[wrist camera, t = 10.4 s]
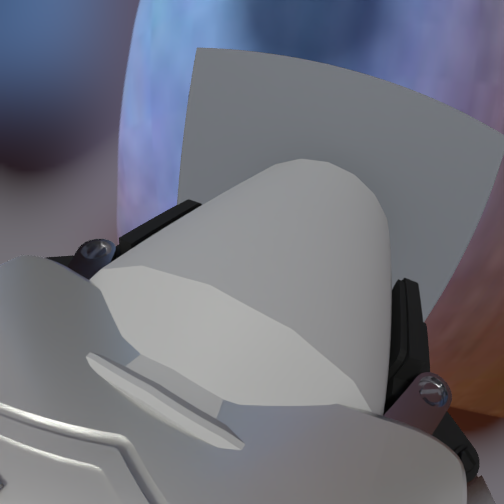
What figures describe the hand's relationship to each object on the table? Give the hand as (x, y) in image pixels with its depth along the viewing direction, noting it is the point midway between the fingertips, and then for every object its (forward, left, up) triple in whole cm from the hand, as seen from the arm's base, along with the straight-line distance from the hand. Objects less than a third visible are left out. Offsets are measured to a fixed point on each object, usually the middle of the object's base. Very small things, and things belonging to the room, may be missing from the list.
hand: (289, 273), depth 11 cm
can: (0, 0, -4) cm, 4 cm away
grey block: (0, 0, -10) cm, 10 cm away
